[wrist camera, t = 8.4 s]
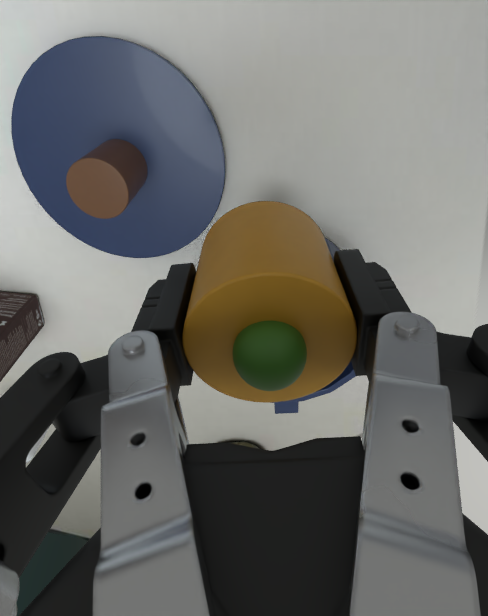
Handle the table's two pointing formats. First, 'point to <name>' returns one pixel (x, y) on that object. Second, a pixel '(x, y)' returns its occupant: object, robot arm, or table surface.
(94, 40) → the pot lid
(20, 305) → the box
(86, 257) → the table surface
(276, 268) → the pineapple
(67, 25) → the table surface
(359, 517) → the robot arm
